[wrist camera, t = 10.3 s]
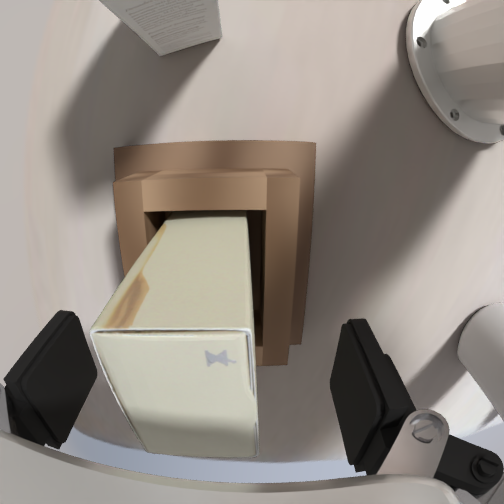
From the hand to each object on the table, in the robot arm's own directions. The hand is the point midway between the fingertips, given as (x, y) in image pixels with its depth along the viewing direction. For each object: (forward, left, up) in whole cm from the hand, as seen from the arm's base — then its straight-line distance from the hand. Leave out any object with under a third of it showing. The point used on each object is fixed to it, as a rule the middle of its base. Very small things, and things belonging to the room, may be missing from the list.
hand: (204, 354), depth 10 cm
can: (-25, +9, -12) cm, 30 cm away
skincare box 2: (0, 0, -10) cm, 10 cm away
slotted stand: (+1, 0, -11) cm, 11 cm away
